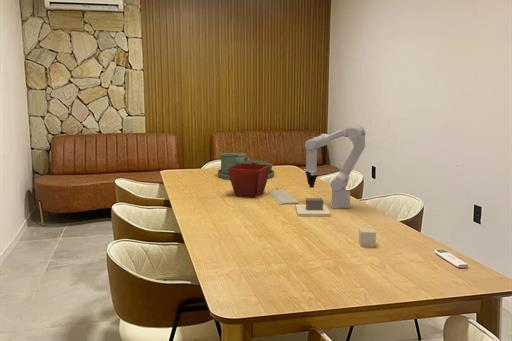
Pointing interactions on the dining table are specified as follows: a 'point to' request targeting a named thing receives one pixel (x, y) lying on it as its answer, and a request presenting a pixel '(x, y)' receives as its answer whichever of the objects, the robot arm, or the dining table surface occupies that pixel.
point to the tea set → (237, 158)
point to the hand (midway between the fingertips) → (310, 186)
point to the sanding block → (314, 203)
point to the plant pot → (249, 179)
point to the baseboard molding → (283, 197)
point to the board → (312, 212)
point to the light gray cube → (367, 237)
